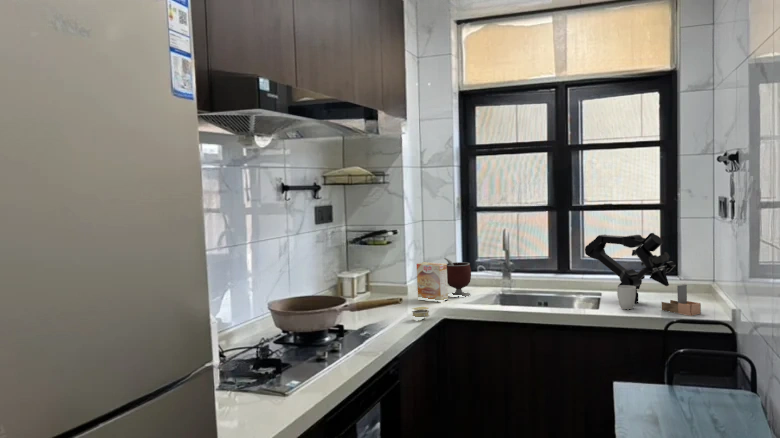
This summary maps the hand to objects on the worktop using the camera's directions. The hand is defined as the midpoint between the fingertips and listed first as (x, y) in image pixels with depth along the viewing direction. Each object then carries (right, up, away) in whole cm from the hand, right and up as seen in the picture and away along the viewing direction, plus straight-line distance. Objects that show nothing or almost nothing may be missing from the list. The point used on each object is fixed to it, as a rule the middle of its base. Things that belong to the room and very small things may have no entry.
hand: (667, 285), depth 257 cm
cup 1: (-16, -11, +6) cm, 20 cm away
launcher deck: (+2, -11, -2) cm, 11 cm away
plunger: (+4, -8, -6) cm, 10 cm away
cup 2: (+5, -11, -8) cm, 15 cm away
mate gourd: (-87, -12, +56) cm, 104 cm away
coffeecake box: (-101, -13, +46) cm, 112 cm away
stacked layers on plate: (-109, -16, +4) cm, 111 cm away
